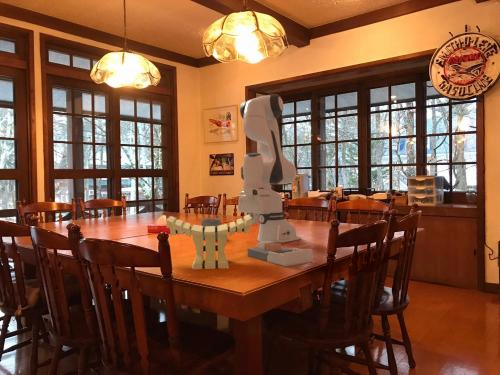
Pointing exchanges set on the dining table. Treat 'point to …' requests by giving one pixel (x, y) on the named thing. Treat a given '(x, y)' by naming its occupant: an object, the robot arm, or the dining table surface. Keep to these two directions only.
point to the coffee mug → (211, 222)
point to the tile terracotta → (273, 247)
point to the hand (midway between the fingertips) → (254, 223)
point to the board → (263, 252)
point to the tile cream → (263, 244)
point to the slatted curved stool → (209, 239)
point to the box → (290, 257)
